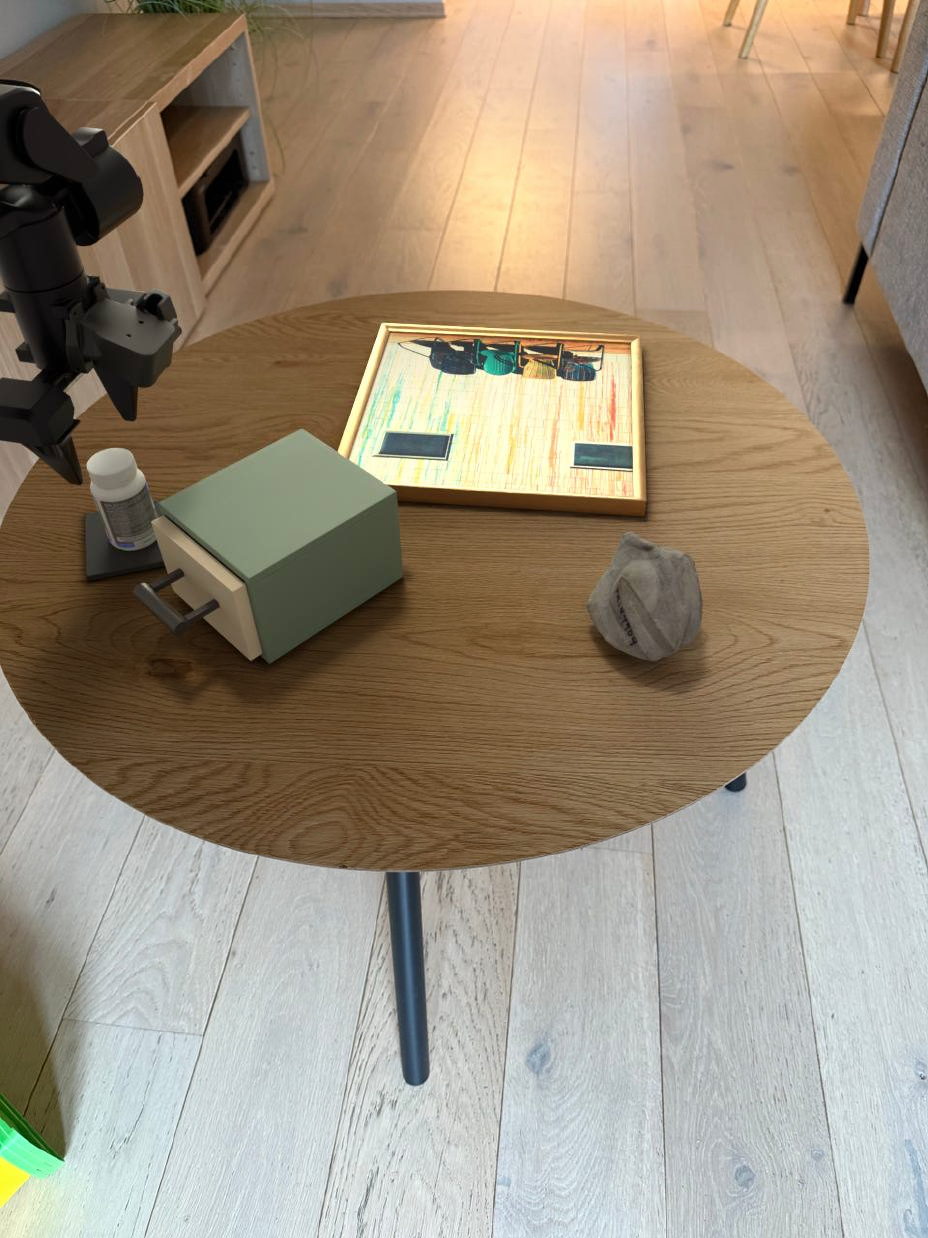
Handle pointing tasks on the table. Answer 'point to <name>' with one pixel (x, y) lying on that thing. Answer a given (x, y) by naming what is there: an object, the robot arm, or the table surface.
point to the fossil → (647, 599)
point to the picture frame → (503, 418)
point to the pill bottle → (122, 499)
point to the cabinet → (296, 535)
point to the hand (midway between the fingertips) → (104, 450)
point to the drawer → (200, 590)
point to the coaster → (115, 552)
